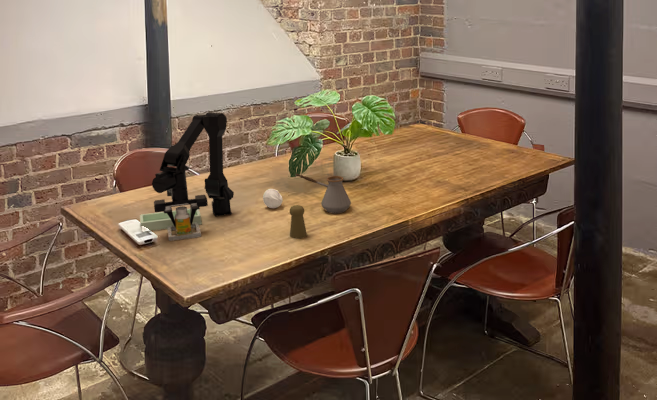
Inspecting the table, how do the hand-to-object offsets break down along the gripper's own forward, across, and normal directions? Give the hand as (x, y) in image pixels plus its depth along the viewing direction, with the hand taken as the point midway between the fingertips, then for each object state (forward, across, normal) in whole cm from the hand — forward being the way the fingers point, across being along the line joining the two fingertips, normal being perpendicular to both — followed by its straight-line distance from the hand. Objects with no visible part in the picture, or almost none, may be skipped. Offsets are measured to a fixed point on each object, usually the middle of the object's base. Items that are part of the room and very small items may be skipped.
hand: (183, 225), depth 260 cm
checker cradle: (+3, 0, 0) cm, 3 cm away
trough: (+3, +4, -12) cm, 13 cm away
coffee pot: (+3, -54, -6) cm, 54 cm away
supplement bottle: (+3, 0, 0) cm, 3 cm away
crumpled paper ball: (+3, -36, -16) cm, 39 cm away
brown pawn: (+3, -39, +16) cm, 42 cm away
